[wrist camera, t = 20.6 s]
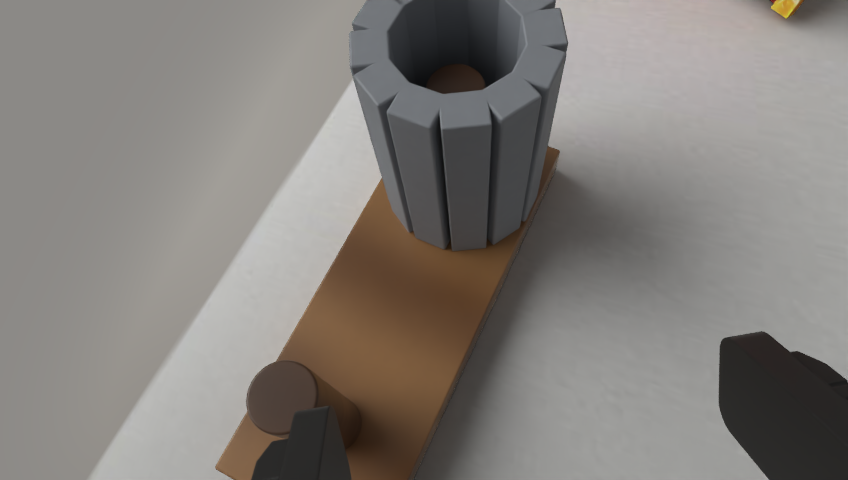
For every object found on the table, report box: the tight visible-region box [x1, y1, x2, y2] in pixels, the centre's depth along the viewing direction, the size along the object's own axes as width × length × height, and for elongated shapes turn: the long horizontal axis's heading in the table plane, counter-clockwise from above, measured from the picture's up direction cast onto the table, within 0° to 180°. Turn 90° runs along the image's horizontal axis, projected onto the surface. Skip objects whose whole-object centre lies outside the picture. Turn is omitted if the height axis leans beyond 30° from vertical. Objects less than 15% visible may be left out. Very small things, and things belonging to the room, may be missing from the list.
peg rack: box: [215, 64, 560, 480], centre depth 19 cm, size 16×6×8 cm, turn 154°
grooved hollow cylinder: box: [349, 0, 568, 251], centre depth 19 cm, size 6×6×8 cm
